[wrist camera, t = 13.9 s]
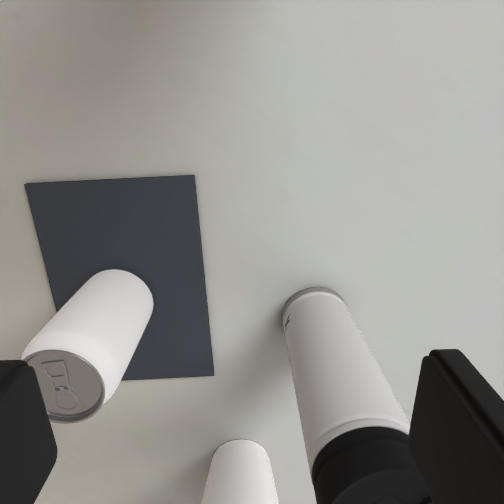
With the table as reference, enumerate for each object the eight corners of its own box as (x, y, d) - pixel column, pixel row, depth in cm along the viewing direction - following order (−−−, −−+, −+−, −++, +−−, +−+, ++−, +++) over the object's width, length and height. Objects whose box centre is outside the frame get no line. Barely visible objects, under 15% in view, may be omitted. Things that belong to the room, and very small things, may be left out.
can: (95, 334, 36) (26, 434, 25) (74, 272, 34) (-12, 351, 22) (161, 325, 36) (123, 422, 24) (145, 262, 33) (95, 337, 22)
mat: (26, 183, 31) (23, 184, 31) (194, 174, 31) (193, 175, 31) (76, 380, 38) (74, 383, 38) (214, 373, 38) (214, 376, 38)
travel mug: (265, 314, 36) (289, 532, 17) (321, 273, 34) (413, 462, 16) (304, 356, 38) (365, 597, 19) (359, 318, 36) (483, 538, 17)
